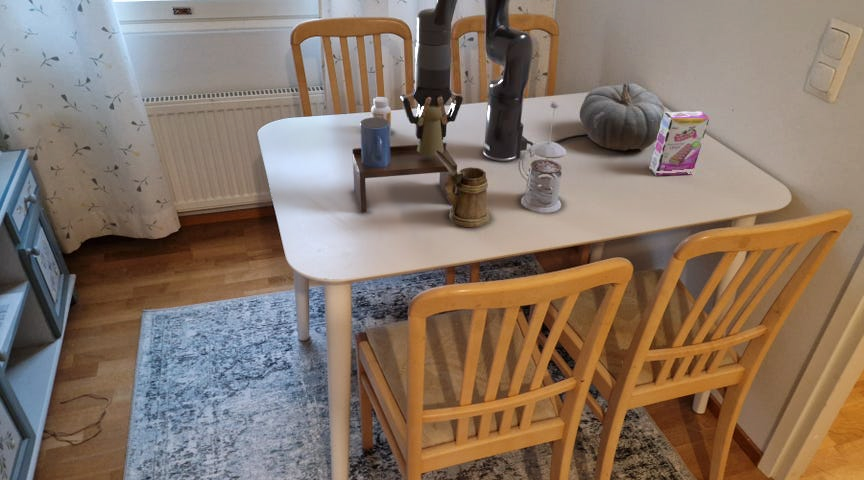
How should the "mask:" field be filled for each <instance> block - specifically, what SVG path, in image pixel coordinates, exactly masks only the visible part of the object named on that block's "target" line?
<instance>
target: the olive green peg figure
mask: <svg viewBox="0 0 864 480" xmlns="http://www.w3.org/2000/svg"><path fill="white" fill-rule="evenodd" d="M421 110H422V108H421V107H420V111H421ZM424 112H425V116H423V118H424V122H423V126H424V129H423V135H422V140H421V141H420V140H419V139H418V141H417V144H418V148H417V151H418V152H419V153H420V154H423V155H427V156H436V150H438V151H440V152H441V153H443V151H444V149H443V143H444V139H443V140H442V132H441V118H442V110H441V109H440V108H439V107H438V106H429V108H428V109H427V110H426V111H424Z"/></svg>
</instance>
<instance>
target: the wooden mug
mask: <svg viewBox="0 0 864 480" xmlns="http://www.w3.org/2000/svg"><path fill="white" fill-rule="evenodd" d="M436 155H437V156H438V158H439V159H440V160H441V161H442V163H443V164H444V165H445V166H446V168H447V169H448V170H449V172H450V173H449V175H448V177H447V180H446V183H445V192H446V195H447V197H448V199H449V200H450V202H451V204H450V205H451V207H450V211H449V218H450V220H451V221H452V222H453V223H454V224H455V225H457V226H460V227H464V228H479V227H482V226H484V225H486V224H487V223H488V222H489V220H490V212H489V209H488V196H487V195H488V194H487V193H488V192H487V189H488V186H489V185H488V179H487V173H486V172H485V170H483V169H482V168H479V167H466V168H462V169H460V170H459V171H458V170H457V171H456V169H455V168H454V167H453V165H452V164H451V163H450V161H449V160H448V159H447V158H446V157H445V156H444V155H443V154H442V153H441V152H440V151H438V150H436ZM454 185H455V186H456V191H455V194H454V193H453V192H452V189H453V186H454Z"/></svg>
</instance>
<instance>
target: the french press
mask: <svg viewBox="0 0 864 480" xmlns="http://www.w3.org/2000/svg"><path fill="white" fill-rule="evenodd" d="M549 107H550V108H552V118H551V125H550V132H549V140H547V141H545V140H542V141H539V142H536V143H533V145H532V146H531V145H530V149H528V150H526V151H525V152H523V153H522V154H521V155H520V158H518V159H519V160H518V171H519V173H520V175H521V177H522V178H523V179H524V180H525V181H526V187H525V195H523V196H522V197H521V199H520V203H521V205H522V206H523V207H524V208H525V209H528V210H529V211H532V212H536V213H541V214H542V213H544V214H545V213H546V214H547V213H548V214H549V213H553V212H556V211H558V210H560V209H561V208H562V202H561V201H560V199H559V193H560V187H561V181H562V171H561V170H562V165H561V164H560V163H558V162H556V161H554V159H561V158H562V157H564V156H565V155H566V153H567V150H566V149H565V147H563V145H561V144H559V143H555V142H554V141H551V137H552V130H553V124H554V117H555V116H554V115H555V110H556V109H558V108H559V107H560V103H559V102H558V101H551V102H550V105H549ZM527 153H530V156H529V157H530V158H533V157H534V156H535V155H536V156H538V157H541V158H540V159H535V160H533V161H531V163H530V167H531V168H529V169H528V173H527V172H526V171H525V168H524V159H525V156H526V155H527ZM532 153H533V154H532ZM542 158H544V159H542ZM545 158H546V159H545ZM550 159H551V160H550ZM521 166H522V170H523V172H524V174H525V175H526V176H527V178H526V177H525V176H524V174H523V173H522V171H521ZM542 175H548V176H542ZM539 176H540V177H539ZM549 176H550V177H549Z"/></svg>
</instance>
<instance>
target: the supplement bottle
mask: <svg viewBox="0 0 864 480" xmlns="http://www.w3.org/2000/svg"><path fill="white" fill-rule="evenodd" d="M391 110H392V109H391V107H390V106H389V99H388V98H387V97H386V96H385V97H384V96H377V97H376V96H375V97H374V98H373V105H372V106H371V108H370V114H371V115H370V118H383V119H386V120H388V121H389V122H390V134H391V133H392V114H391V113H392V111H391Z"/></svg>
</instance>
